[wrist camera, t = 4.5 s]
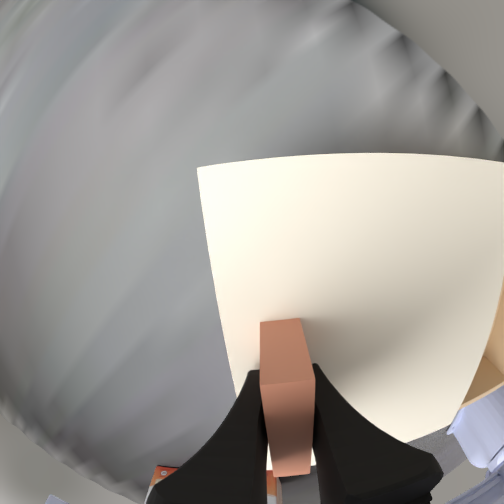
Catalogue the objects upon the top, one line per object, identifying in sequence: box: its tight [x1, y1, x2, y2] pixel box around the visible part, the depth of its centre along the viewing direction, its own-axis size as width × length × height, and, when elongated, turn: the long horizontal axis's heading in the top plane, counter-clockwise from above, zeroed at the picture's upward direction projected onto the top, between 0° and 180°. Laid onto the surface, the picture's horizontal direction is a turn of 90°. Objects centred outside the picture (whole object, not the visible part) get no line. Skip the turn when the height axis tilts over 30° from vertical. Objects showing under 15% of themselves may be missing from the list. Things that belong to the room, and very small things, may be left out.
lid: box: [197, 153, 504, 477], centre depth 9 cm, size 18×14×4 cm
